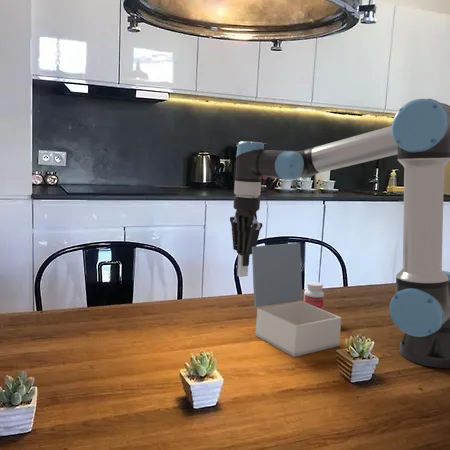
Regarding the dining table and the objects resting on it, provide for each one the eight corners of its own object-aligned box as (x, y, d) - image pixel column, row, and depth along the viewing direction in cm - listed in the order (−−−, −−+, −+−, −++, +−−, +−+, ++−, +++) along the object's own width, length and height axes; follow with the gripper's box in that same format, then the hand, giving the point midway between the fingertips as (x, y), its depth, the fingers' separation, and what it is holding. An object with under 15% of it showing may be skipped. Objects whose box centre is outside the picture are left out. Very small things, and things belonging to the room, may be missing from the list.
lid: (300, 242, 155) (295, 242, 156) (253, 246, 145) (249, 246, 147) (302, 299, 155) (297, 298, 157) (256, 307, 145) (251, 306, 147)
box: (338, 346, 143) (341, 317, 142) (293, 357, 134) (296, 326, 133) (298, 326, 156) (301, 300, 155) (255, 335, 147) (257, 307, 146)
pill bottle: (324, 321, 162) (327, 286, 160) (305, 321, 161) (308, 286, 159) (318, 314, 168) (321, 280, 166) (299, 314, 167) (302, 280, 165)
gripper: (271, 198, 149) (266, 280, 153) (244, 193, 160) (239, 269, 163) (250, 199, 145) (245, 282, 149) (223, 193, 155) (219, 271, 159)
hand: (242, 275), depth 156 cm, fingers closed
